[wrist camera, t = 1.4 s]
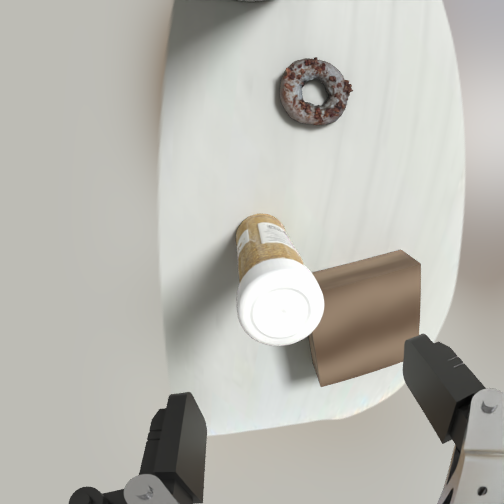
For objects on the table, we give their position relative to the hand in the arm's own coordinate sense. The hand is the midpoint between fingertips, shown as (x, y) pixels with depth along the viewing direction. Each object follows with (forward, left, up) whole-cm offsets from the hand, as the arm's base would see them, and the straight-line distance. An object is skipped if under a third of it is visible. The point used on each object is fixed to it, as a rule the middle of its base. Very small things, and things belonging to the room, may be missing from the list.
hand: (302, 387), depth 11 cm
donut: (-12, +7, -20) cm, 24 cm away
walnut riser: (+10, +8, -19) cm, 23 cm away
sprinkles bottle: (0, 0, -19) cm, 19 cm away
